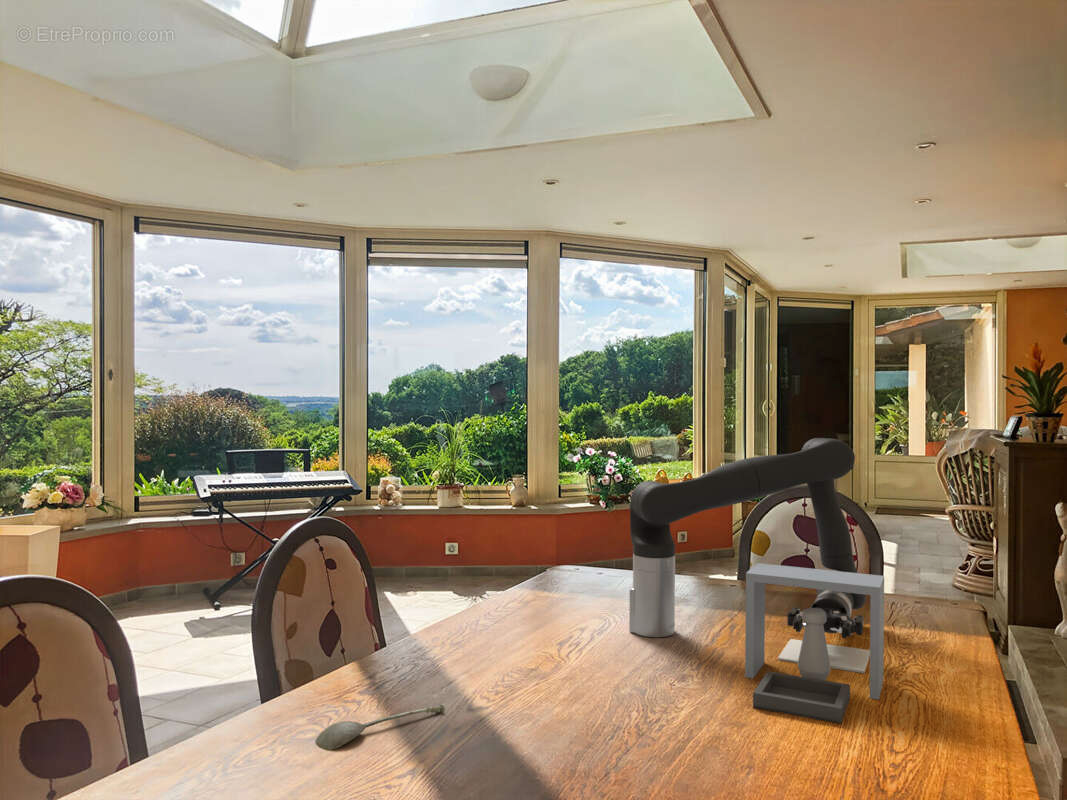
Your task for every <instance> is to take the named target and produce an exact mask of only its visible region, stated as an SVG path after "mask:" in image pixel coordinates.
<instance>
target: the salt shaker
mask: <svg viewBox="0 0 1067 800" xmlns="http://www.w3.org/2000/svg"><path fill="white" fill-rule="evenodd" d="M801 612H802V619H803V622H806V625H805V627H804V631H803V635H802V645H801V649H800V654H799V659H798V663H797V668H798V671H799V674H800V676H801V677H807V678H813V679H819V680H825V681H827V679H828V677H829V675H830V673H831V669H832V668H831V667H830V661H829V655H828V650H827V644H828V643H827V638H826V632H824V626H823V624H825V623H826V621H827V616H826V613H825V612H824V611H823V610H821V609H818V608H811V607H808V608H805V609H803V610H802V611H801Z"/></svg>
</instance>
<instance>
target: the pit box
mask: <svg viewBox="0 0 1067 800" xmlns="http://www.w3.org/2000/svg"><path fill="white" fill-rule="evenodd" d="M850 692H851V684H848V683H843V682H836V681H832V680H831V681H830V680H826V681H825V680H819V679H813V678H807V677H801V675H800V676H799V675H793V674H787V673H781V672H777V671H775V672H774V671H766V673H765V674H764V676H763V677H762V678H761V681H760V682H759V683H758V684H757V687H756V688H755V689H754V691H753V692H752V709H753V708H754V709H759V710H763V711H769V712H773V713H774V712H776V713H781V714H785V715H790V716H791V715H792V716H796V717H797V716H798V717H801V718H807V719H813V720H816V721H817V720H819V721H825V722H829V723H835V724H840V725H842V723H843V720H844V717H845V714H846V711H847V708H848V706H849V702H850V698H851V693H850Z"/></svg>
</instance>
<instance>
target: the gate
mask: <svg viewBox="0 0 1067 800" xmlns="http://www.w3.org/2000/svg"><path fill="white" fill-rule="evenodd" d="M766 584H769V585H778V586H787V587H797V588H805V589H813V590H817V589H821V590H830V591H839V592H847V593H856V594H865V595H866V596H870V599H869V600H870V607H869V608H870V612H869V616H870V617H869V618H870V619H869V632H870V633H869V650H870V658H869V699H873V700H880V696H881V694H882V693H881V692H882V688H883V684H884V657H885V656H884V655H885V654H884V653H885V651H884V648H885V646H884V645H885V644H884V643H885V641H884V640H885V638H884V637H885V635H884V634H885V629H884V628H885V575H879V574H869V573H868V574H867V573H859V572H858V573H850V572H840V571H837V570H832V569H820V568H819V569H818V568H809V567H800V566H790V565H779V564H771V563H760V562H757V563H756V564H754V565H753V567H751V568H750V569H748V571H747V572H746V573H745V639H744V640H745V641H744V644H745V645H744V646H745V647H744V648H745V649H744V650H745V651H744V652H745V653H744V655H745V657H744V658H745V659H744V677H745V678H748V679H754V678H755V677H756V676H757V674H758V673H759V671H760V670H761V668H762V667H763V665H764V664H765V659H766V658H765V655H766V654H765V653H766V651H765V650H766V649H765V647H766V643H765V641H766V639H765V638H766V637H765V636H766V634H765V633H766V629H765V628H766Z"/></svg>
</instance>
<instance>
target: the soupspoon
mask: <svg viewBox="0 0 1067 800" xmlns="http://www.w3.org/2000/svg"><path fill="white" fill-rule="evenodd" d="M445 708H446V707H445V705H444V704H442V703H440V704H439V705H437V706H432V707H429V706H428V707H426V708H422V709H417V710H416V709H415V710H411V711H405V712H402V713H401V712H400V713H398V714H394V715H389V716H384V717H381V718H378V719H375V720H371V721H368V722H365V723H360V722H357V721H354V720H353V721H351V720H348V721H347V720H345V721H339V722H336V723H333V724H331V725H329V726H328V727H327V728H324V729H323V730H322V731H321V732H320V733H319V734H318V736H317V737H316V739H315V741H314V743H315V745H316V746H317V747H318V748H320V749H321V750H326V751H330V752H331V751H334V750H337V749H338V748H341V747H342V746H344V745H346V744H348V742H350V741H352V740H353V739H355V738H357V736H359V735H360V734H362V732H364V730H366V729H367V728H369V727H372V726H374V725H377V724H380V723H383V722H387V721H392V720H395V719H399V718H403V717H407V716H411V715H416V714H421V713H426V714H429V713H432V714H434V713H436V714H439V713H440V714H442V715H443V714H445V710H446V709H445Z"/></svg>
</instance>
